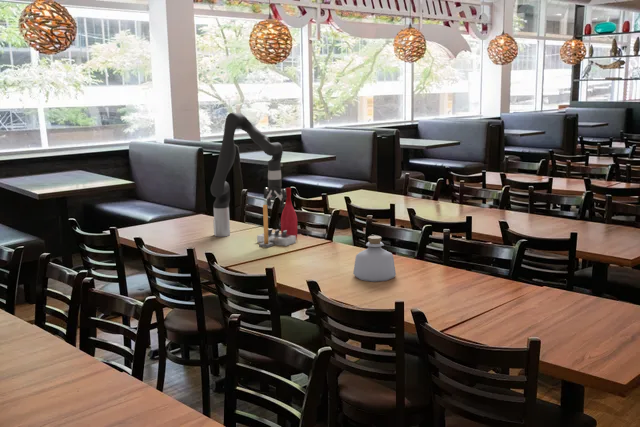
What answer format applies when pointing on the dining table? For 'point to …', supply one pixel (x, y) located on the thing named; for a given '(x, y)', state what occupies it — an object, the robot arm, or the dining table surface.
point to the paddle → (270, 231)
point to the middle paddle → (276, 232)
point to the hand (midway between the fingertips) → (275, 206)
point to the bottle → (374, 262)
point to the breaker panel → (278, 239)
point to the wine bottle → (289, 216)
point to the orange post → (265, 229)
